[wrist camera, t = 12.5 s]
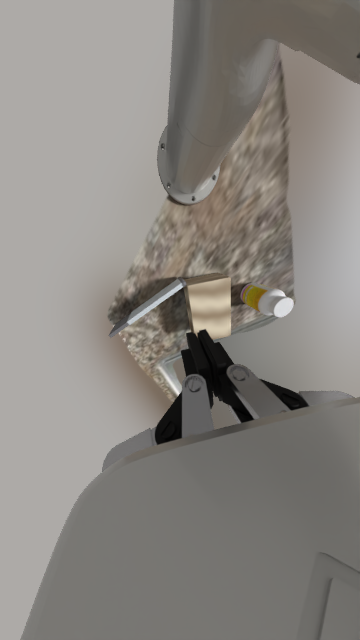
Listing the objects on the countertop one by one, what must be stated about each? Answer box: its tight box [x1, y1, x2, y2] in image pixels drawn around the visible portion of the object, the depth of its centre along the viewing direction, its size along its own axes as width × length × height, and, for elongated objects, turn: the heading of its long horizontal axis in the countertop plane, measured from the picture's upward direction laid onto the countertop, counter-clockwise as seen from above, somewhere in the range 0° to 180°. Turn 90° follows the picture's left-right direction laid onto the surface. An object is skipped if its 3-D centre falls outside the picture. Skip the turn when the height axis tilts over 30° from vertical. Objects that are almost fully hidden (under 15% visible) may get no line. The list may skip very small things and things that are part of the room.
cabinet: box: [184, 273, 231, 340], centre depth 38 cm, size 16×10×8 cm, turn 10°
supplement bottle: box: [241, 283, 293, 317], centre depth 36 cm, size 7×7×13 cm
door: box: [109, 277, 186, 337], centre depth 35 cm, size 23×1×6 cm, turn 124°
